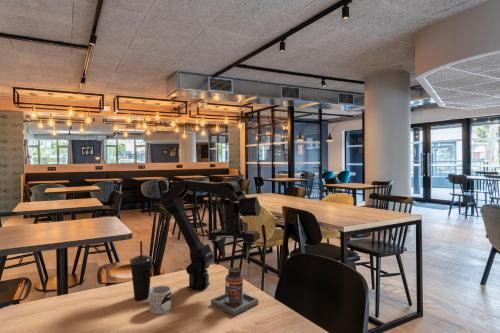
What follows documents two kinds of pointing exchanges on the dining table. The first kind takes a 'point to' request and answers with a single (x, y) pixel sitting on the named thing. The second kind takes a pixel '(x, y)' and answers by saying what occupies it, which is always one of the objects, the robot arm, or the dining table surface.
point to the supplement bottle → (234, 287)
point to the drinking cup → (141, 275)
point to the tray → (234, 310)
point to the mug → (160, 300)
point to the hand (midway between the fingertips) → (235, 259)
